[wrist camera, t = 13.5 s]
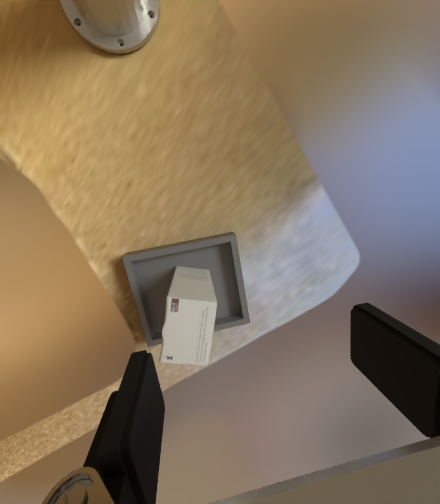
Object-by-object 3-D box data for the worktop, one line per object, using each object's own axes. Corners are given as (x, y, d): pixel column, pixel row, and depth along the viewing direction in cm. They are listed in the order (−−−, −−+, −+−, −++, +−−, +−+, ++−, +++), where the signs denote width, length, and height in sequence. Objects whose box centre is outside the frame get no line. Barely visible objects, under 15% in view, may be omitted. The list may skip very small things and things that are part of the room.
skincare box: (203, 311, 41) (210, 369, 27) (168, 308, 40) (157, 368, 26) (209, 266, 39) (221, 303, 25) (174, 262, 38) (165, 298, 24)
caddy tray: (127, 252, 38) (121, 256, 35) (232, 232, 39) (235, 234, 37) (150, 336, 42) (147, 346, 39) (245, 314, 43) (250, 322, 40)
